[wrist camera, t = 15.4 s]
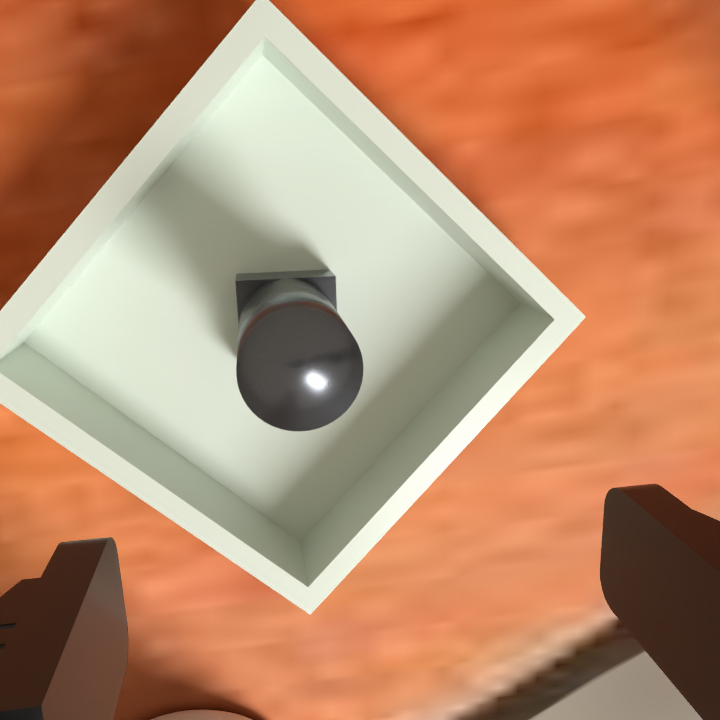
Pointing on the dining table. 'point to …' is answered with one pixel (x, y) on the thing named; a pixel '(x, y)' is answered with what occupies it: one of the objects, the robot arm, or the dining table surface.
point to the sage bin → (220, 316)
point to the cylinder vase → (202, 715)
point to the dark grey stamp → (295, 349)
